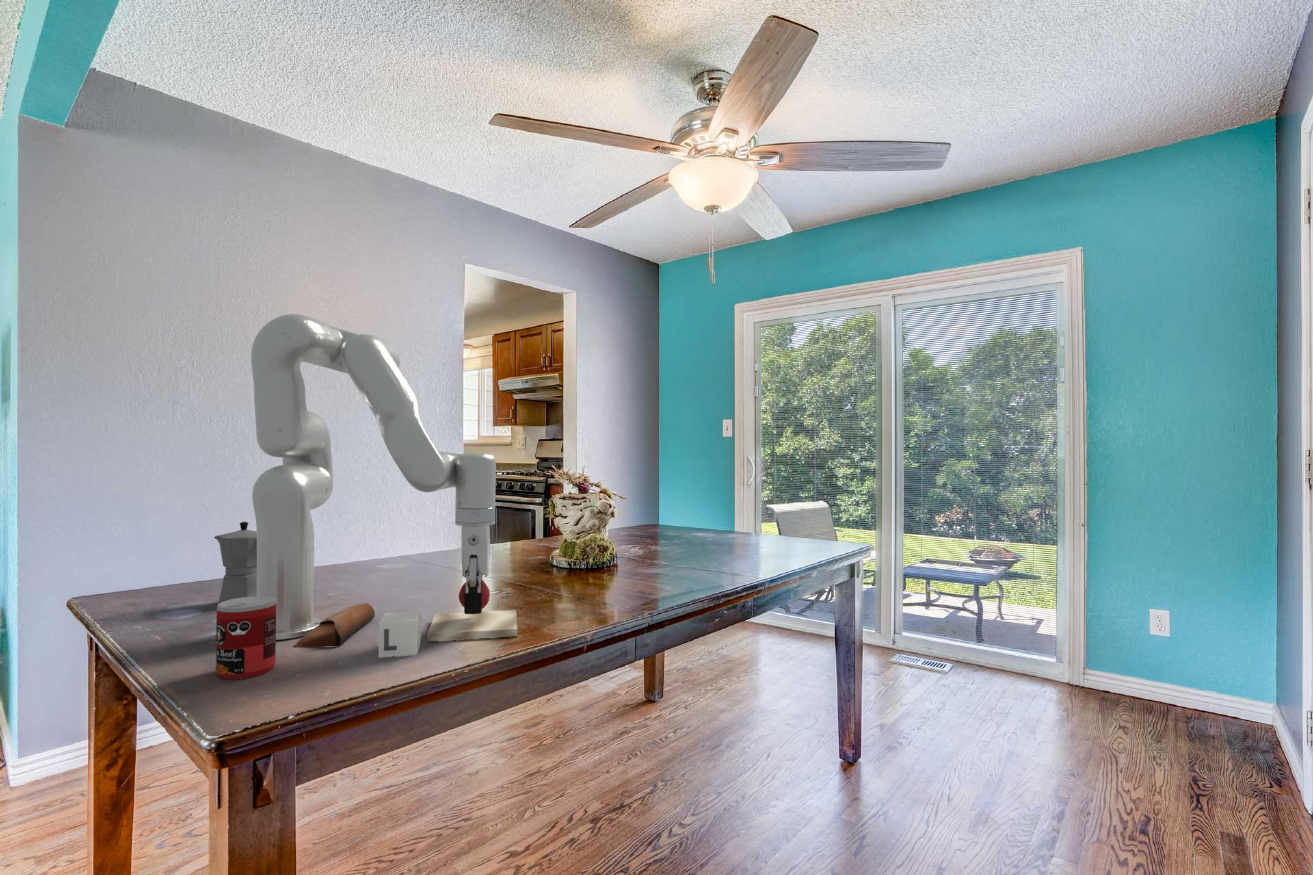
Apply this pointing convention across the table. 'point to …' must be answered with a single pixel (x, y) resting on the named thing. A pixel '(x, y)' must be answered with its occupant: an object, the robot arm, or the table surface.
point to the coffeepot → (239, 563)
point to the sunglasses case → (338, 627)
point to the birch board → (472, 625)
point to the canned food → (245, 637)
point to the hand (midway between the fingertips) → (473, 608)
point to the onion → (484, 591)
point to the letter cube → (399, 634)
